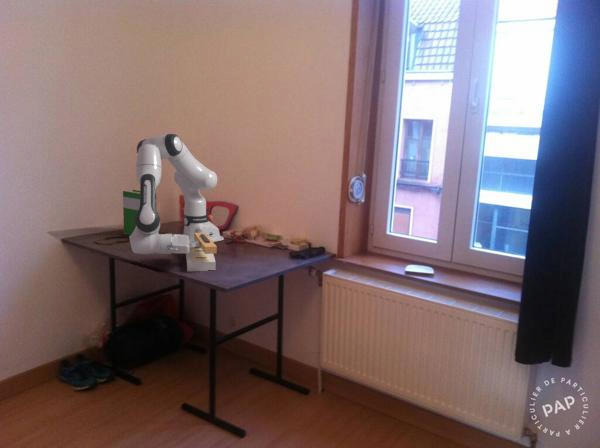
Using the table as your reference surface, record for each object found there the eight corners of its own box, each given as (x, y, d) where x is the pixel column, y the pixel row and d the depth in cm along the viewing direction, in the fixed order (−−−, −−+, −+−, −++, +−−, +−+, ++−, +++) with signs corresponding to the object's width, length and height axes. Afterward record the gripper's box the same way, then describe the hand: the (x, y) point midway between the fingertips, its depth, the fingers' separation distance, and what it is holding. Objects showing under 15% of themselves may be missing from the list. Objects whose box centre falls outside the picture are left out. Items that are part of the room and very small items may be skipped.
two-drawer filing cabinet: (185, 254, 252) (185, 237, 251) (211, 253, 255) (211, 237, 254) (187, 271, 225) (187, 253, 223) (215, 270, 228) (215, 252, 226)
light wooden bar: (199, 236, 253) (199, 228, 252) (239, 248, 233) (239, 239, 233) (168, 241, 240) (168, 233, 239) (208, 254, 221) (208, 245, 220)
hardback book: (123, 234, 287) (122, 191, 283) (134, 232, 294) (133, 189, 289) (146, 239, 278) (145, 194, 274) (156, 237, 285) (156, 193, 280)
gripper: (167, 242, 219) (200, 242, 222) (168, 232, 239) (198, 232, 242) (167, 257, 220) (200, 256, 224) (168, 245, 240) (198, 245, 243)
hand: (199, 243), depth 233 cm, fingers closed
